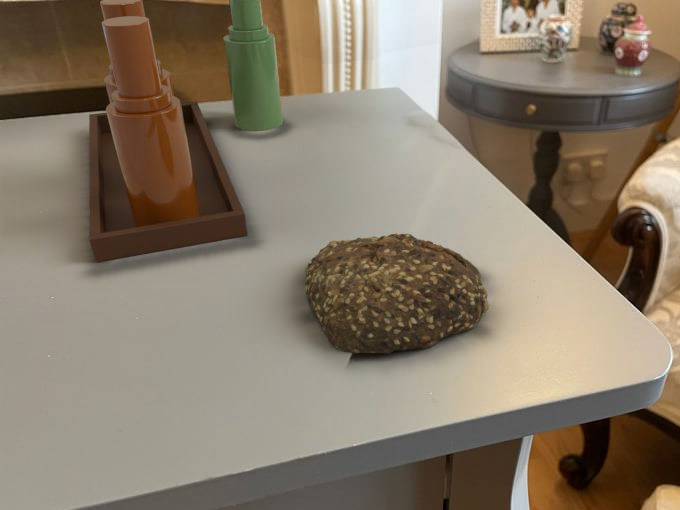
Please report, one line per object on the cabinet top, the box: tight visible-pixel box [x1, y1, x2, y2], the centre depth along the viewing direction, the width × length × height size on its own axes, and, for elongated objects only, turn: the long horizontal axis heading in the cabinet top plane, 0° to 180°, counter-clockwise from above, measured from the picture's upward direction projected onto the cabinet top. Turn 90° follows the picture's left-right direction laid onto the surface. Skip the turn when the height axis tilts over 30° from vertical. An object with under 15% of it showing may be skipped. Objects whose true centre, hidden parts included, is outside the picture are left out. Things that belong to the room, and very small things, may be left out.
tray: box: [88, 101, 248, 264], centre depth 62 cm, size 30×12×3 cm, turn 21°
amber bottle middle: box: [99, 0, 175, 104], centre depth 57 cm, size 5×5×16 cm
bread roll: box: [304, 233, 490, 355], centre depth 45 cm, size 13×12×5 cm
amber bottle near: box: [101, 16, 201, 228], centre depth 51 cm, size 5×5×16 cm
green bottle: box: [222, 0, 284, 132], centre depth 71 cm, size 5×5×16 cm
